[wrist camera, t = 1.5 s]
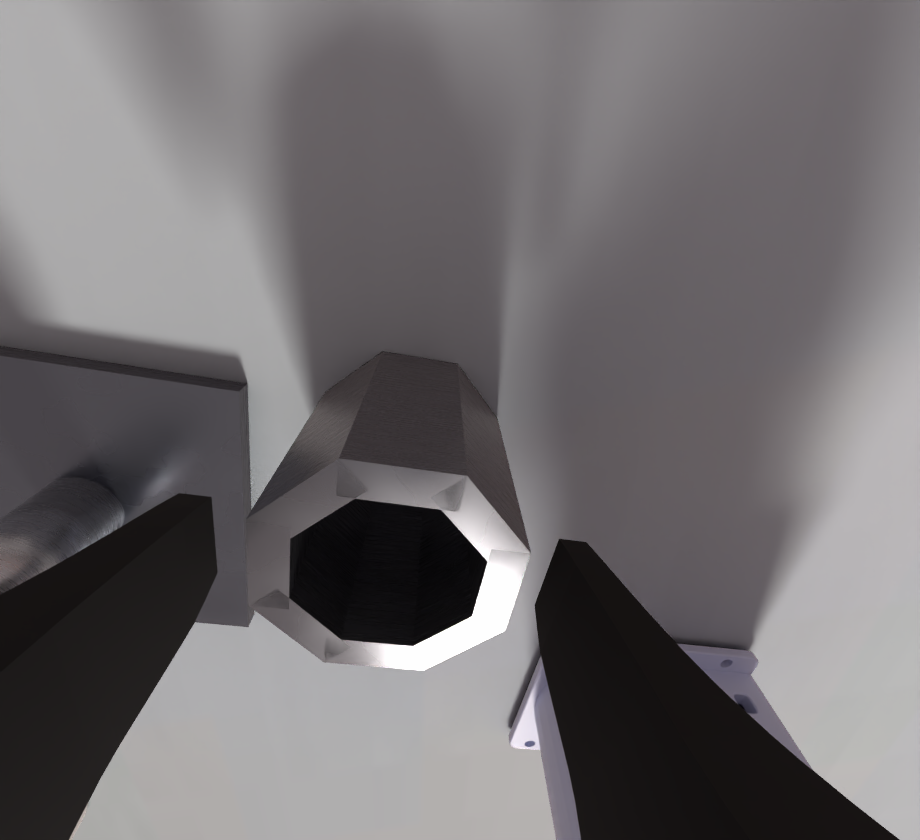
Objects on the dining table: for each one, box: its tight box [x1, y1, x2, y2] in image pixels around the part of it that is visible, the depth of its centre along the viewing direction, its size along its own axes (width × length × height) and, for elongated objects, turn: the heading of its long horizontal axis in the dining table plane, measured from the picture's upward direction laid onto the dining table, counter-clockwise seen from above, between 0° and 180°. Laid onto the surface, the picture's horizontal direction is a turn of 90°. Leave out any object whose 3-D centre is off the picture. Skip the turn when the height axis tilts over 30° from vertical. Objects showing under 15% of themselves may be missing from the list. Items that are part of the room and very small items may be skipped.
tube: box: [246, 352, 531, 671], centre depth 11 cm, size 5×5×6 cm
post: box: [0, 346, 254, 627], centre depth 12 cm, size 10×10×6 cm
